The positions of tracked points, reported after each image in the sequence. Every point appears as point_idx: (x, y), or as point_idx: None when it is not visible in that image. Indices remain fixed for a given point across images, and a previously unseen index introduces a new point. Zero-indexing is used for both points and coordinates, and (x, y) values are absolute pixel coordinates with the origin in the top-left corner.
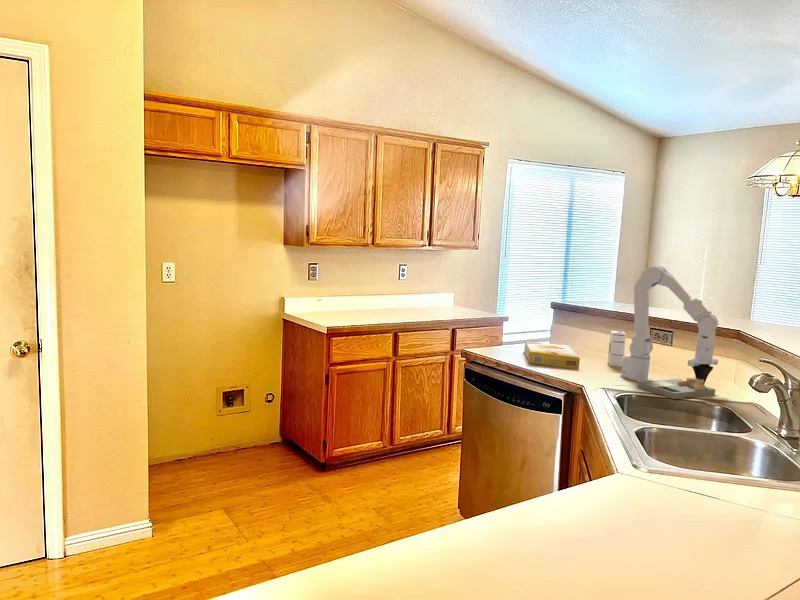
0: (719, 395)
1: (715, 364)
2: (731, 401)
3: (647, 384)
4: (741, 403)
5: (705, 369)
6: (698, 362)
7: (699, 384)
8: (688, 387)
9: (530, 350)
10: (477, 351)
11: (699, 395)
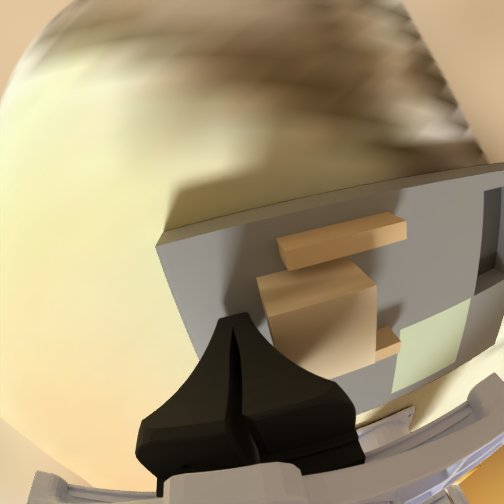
0: (139, 210)
1: (58, 479)
2: (179, 51)
3: (499, 316)
4: (143, 12)
5: (326, 387)
6: (469, 439)
7: (318, 278)
8: None
9: (466, 477)
10: None
11: (343, 190)
